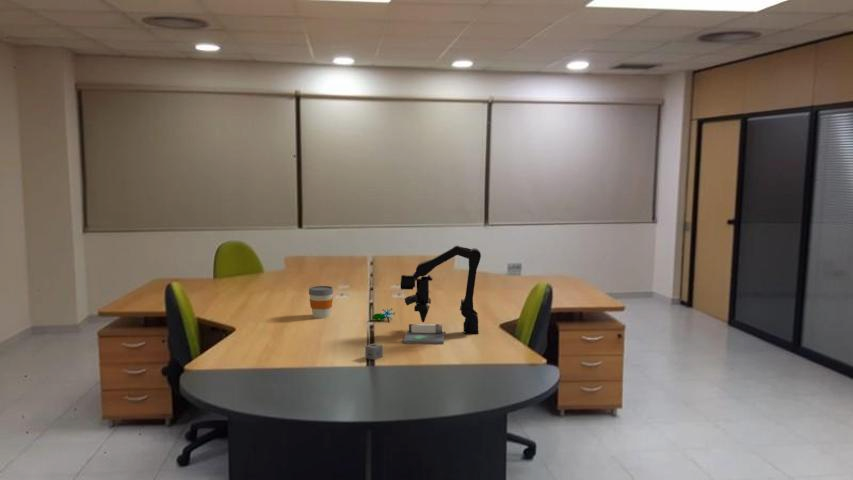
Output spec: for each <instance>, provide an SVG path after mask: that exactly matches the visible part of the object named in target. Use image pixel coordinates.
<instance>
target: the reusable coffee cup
mask: <svg viewBox="0 0 853 480" xmlns="http://www.w3.org/2000/svg"><path fill="white" fill-rule="evenodd" d="M308 294H309V306H310V308H311V311H312V317H313V318H314V319H327V318H329V317H331V312H332V307H333V302H334V300H333V294H334V288H333V287H332V286H329V285H317V286H311V287H309V288H308Z"/></svg>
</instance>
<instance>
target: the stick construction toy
mask: <svg viewBox="0 0 853 480" xmlns="http://www.w3.org/2000/svg"><path fill="white" fill-rule="evenodd" d="M386 310H387V311H386ZM386 310H385V309H384V308H382V311H383V312H384V313H381V312H379V313H374V314H373V315H372V320H374V321H378V322H381V321H384V320H385V319H386V320H387V323H390V320H393V318H392V317H391V316H392V315H393V316H395V315H396V312H395V311H394V312H391V311H393V308H392V307H391V308H390V309H388V308H387V309H386Z"/></svg>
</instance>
